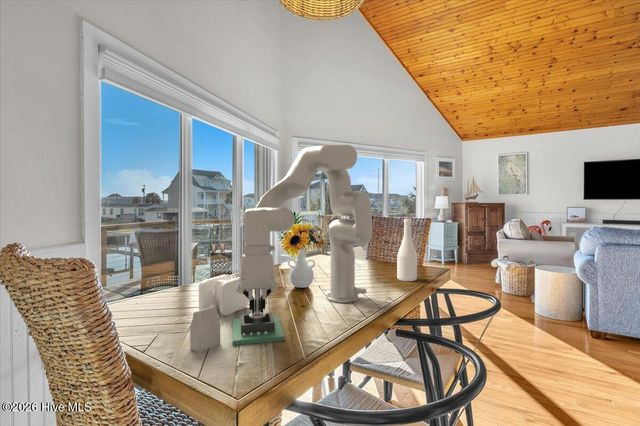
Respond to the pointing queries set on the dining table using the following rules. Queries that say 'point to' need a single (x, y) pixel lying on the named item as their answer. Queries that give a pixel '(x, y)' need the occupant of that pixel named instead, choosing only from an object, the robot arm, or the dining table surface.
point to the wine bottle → (407, 256)
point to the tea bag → (205, 329)
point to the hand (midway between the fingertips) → (257, 311)
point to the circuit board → (257, 330)
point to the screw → (257, 308)
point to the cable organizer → (221, 295)
